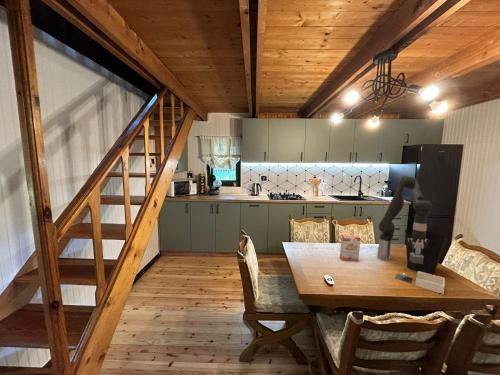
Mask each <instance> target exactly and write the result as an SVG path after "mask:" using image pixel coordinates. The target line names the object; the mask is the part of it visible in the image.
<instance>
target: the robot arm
mask: <svg viewBox="0 0 500 375" xmlns="http://www.w3.org/2000/svg"><path fill="white" fill-rule="evenodd" d="M397 184H398V185H397V187H396V191H395V192H394V195H393V197H392V199H391V201H390V203H389V205H388V208H387V210H386V211H385V214H384V216H383V217H382V219H381V220H380V222H379V224H378V229H379V231H380V232H381V234H379V239H378V240H379V241H378V247H377V254H376V258H377V259H379V260H383V261H390V258H391V251H392V250H391V249H392V248H391V247H392V242H393V241H392V240H393V238H394V233H395V224H394V222H393V221H394V219H395V218H396V217H397V216H398V215H399V214H400V212H401V211H402V209H403V207H404V206H405V200H404V196H403V191H404V189H407V190H411V191H410V193H409V195H410V198H411V201H412V208H413V210H415V211H420V213H416V214H414V219H413V221H414V222H413V224H412V229H413V233H412V235H413V236H412V238H407V240H408V243H409V246H411V247H412V252H413V253H415V250H416V245H417V244H416V243H418V242H419V243H422V244H421V252H420V254H422V253H423V248H426V247H427V245H428V243H429V241H430V240H428V239H426V238H425V236H426V231H427V224H428V217H429V214H430V212H431V209H432V208H433V204H432V202H431V201H430V200H425V196H424V195H423V193H422V191H421V190H420V189H421V188H420V184H419V181H418V180H417V178H416V177H413V176H409V175H408V176H407V175H403V176H402V177H401V178H400V179H399V182H398V183H397ZM421 211H422V212H421ZM412 240H413V243H412ZM424 241H425V242H424ZM414 242H415V243H414ZM423 242H424V244H423Z"/></svg>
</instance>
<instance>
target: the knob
mask: <svg viewBox="0 0 500 375" xmlns="http://www.w3.org/2000/svg"><path fill="white" fill-rule="evenodd" d="M414 243H415V242H414ZM416 244H417V245H416V250H415V253H410V261H412V262H413V263H418V264H423V258H424V256H422V255H421V254H420V252H421V244H422V243H419V242H418V243H416Z"/></svg>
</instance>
